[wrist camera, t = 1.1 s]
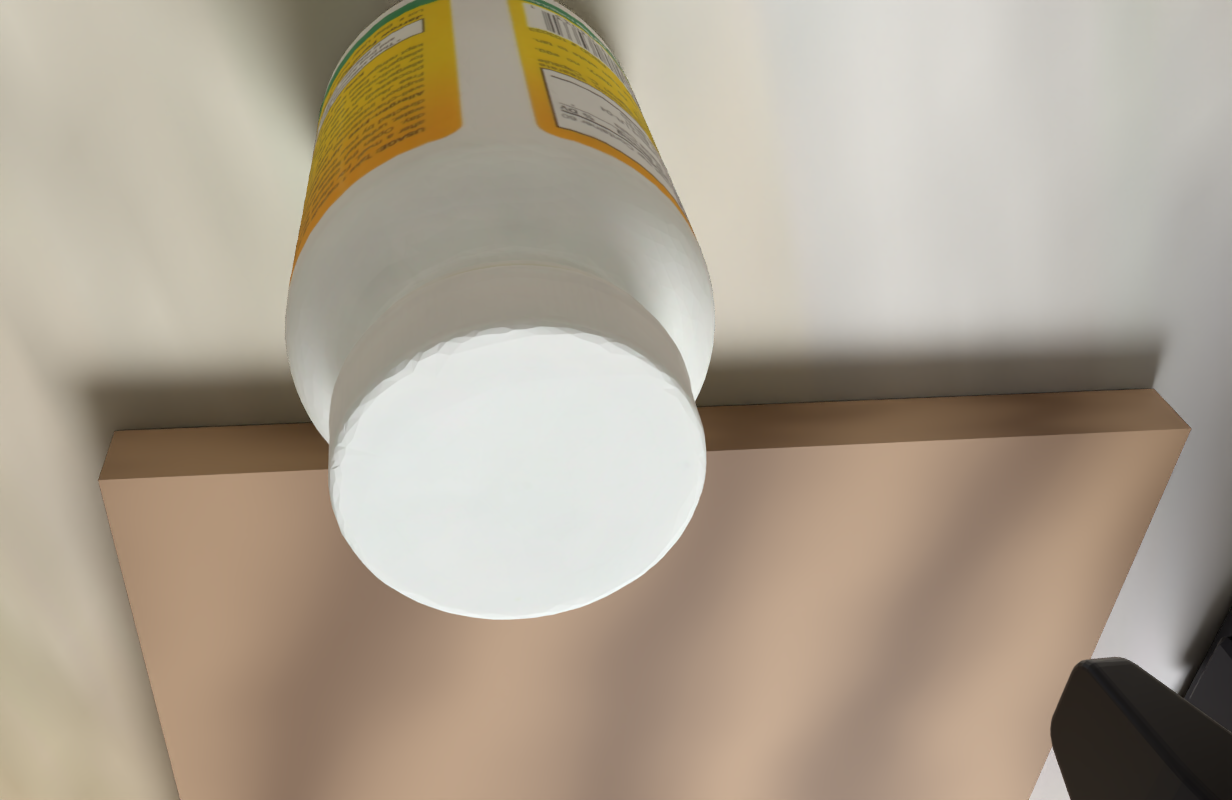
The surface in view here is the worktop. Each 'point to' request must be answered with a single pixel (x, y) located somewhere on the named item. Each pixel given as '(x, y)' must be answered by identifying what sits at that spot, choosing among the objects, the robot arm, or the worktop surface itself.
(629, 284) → the supplement bottle
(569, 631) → the light tan board
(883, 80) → the worktop surface
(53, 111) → the worktop surface
